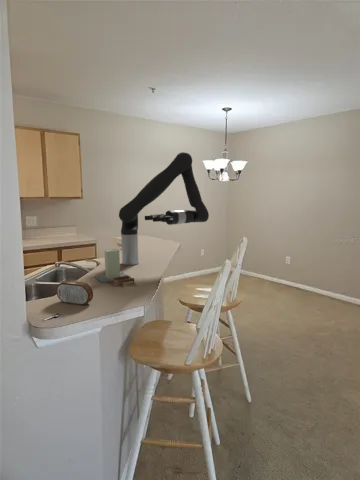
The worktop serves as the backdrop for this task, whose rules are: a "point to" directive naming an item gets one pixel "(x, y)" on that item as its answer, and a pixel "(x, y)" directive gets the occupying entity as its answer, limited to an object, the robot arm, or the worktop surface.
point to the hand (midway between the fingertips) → (148, 218)
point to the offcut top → (128, 283)
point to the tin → (74, 292)
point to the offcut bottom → (128, 286)
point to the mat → (104, 279)
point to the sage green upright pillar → (112, 263)
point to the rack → (120, 280)
